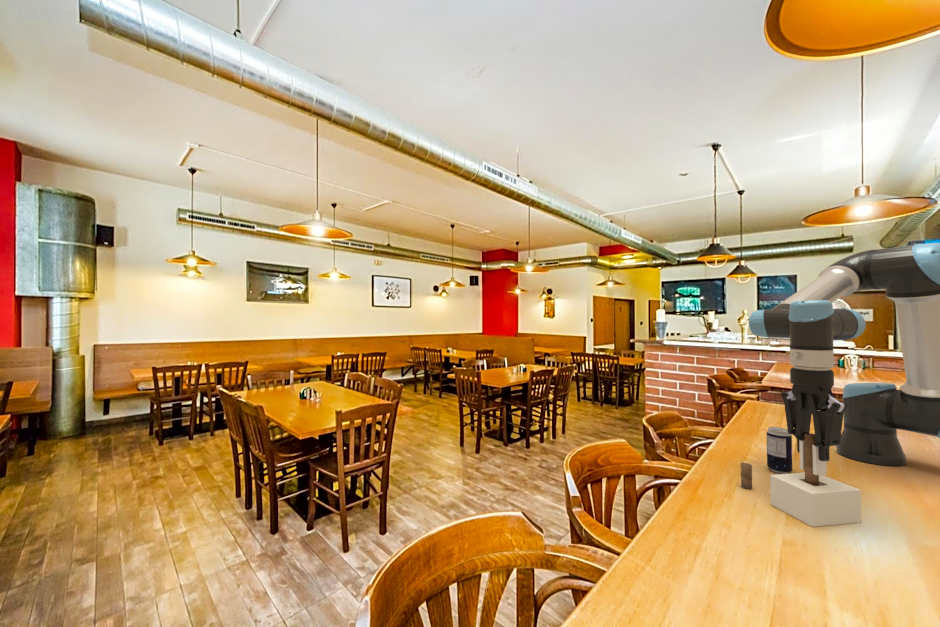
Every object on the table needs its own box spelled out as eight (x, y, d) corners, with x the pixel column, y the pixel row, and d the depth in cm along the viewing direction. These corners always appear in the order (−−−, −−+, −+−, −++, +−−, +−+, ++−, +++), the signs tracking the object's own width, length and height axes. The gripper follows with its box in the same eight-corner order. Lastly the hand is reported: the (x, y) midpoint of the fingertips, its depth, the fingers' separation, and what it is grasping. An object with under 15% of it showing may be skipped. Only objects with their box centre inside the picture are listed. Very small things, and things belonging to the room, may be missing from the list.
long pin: (811, 493, 90) (810, 432, 90) (822, 498, 88) (821, 436, 88) (802, 494, 90) (801, 433, 90) (812, 499, 87) (812, 436, 87)
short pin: (746, 485, 103) (746, 462, 103) (754, 489, 101) (754, 466, 101) (738, 485, 103) (738, 463, 103) (746, 489, 101) (745, 466, 101)
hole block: (814, 500, 94) (814, 471, 94) (861, 522, 84) (860, 490, 85) (770, 504, 93) (770, 475, 93) (812, 526, 83) (812, 493, 83)
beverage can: (797, 475, 109) (796, 432, 109) (773, 474, 110) (773, 431, 110) (785, 467, 115) (784, 427, 115) (763, 466, 116) (762, 426, 116)
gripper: (766, 364, 96) (768, 460, 96) (832, 373, 81) (834, 487, 81) (793, 363, 97) (795, 458, 97) (863, 372, 82) (865, 484, 82)
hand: (813, 471), depth 89 cm, fingers closed on long pin, 2 cm apart
